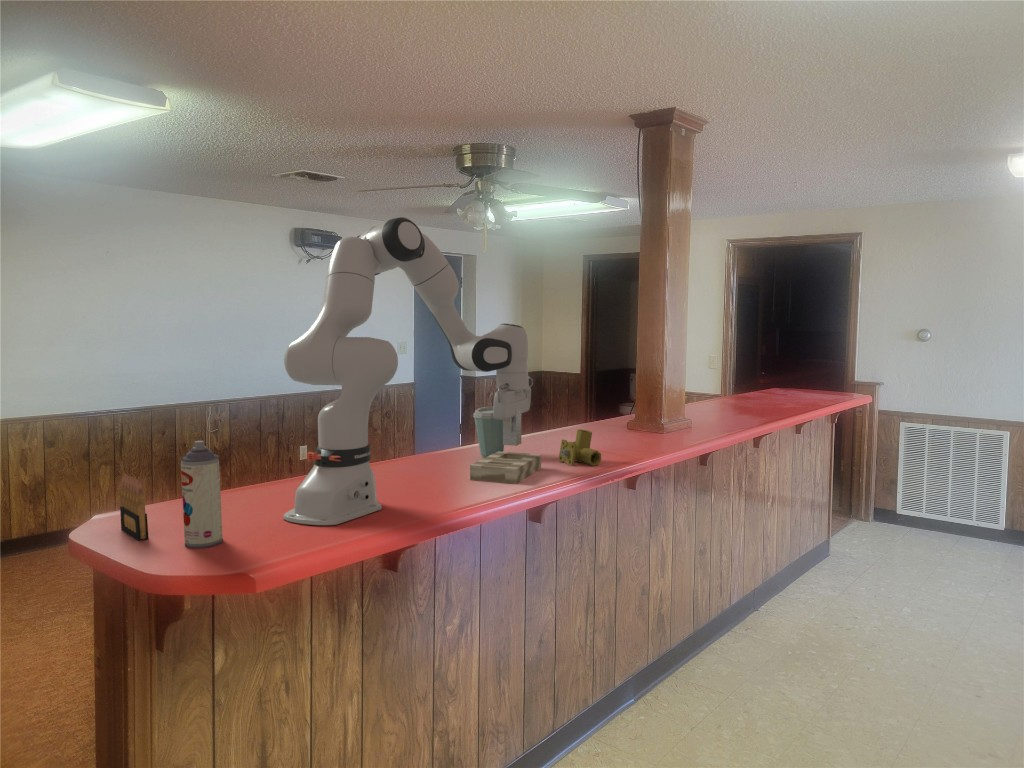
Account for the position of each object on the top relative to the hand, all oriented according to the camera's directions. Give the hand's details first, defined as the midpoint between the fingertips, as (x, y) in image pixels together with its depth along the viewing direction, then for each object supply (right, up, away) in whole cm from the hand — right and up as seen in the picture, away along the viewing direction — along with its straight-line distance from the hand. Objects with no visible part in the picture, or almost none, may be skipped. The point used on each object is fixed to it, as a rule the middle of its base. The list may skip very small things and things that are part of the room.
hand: (512, 431), depth 204 cm
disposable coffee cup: (-7, -9, +20) cm, 23 cm away
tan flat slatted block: (-2, -12, -3) cm, 12 cm away
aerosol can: (-60, -18, -62) cm, 88 cm away
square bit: (0, -4, 0) cm, 4 cm away
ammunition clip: (-77, -17, -56) cm, 97 cm away
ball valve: (+19, -10, +11) cm, 24 cm away
